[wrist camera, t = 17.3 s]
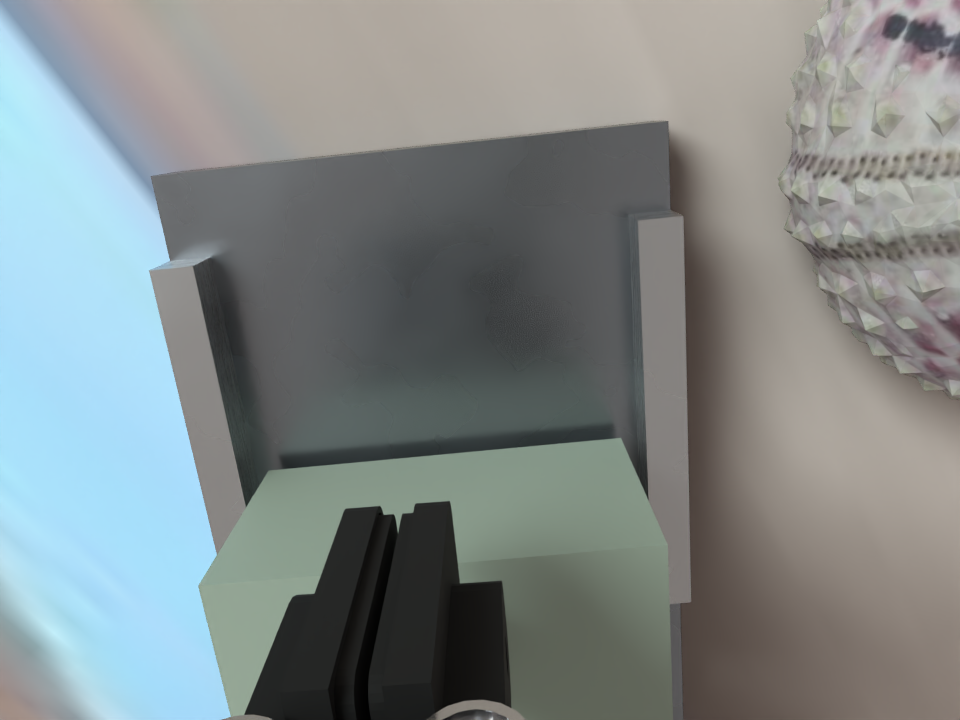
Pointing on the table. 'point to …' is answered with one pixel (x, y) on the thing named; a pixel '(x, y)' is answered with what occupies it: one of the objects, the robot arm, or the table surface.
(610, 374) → the base
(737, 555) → the table surface
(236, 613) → the grey-green handled block
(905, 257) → the sea urchin shell
